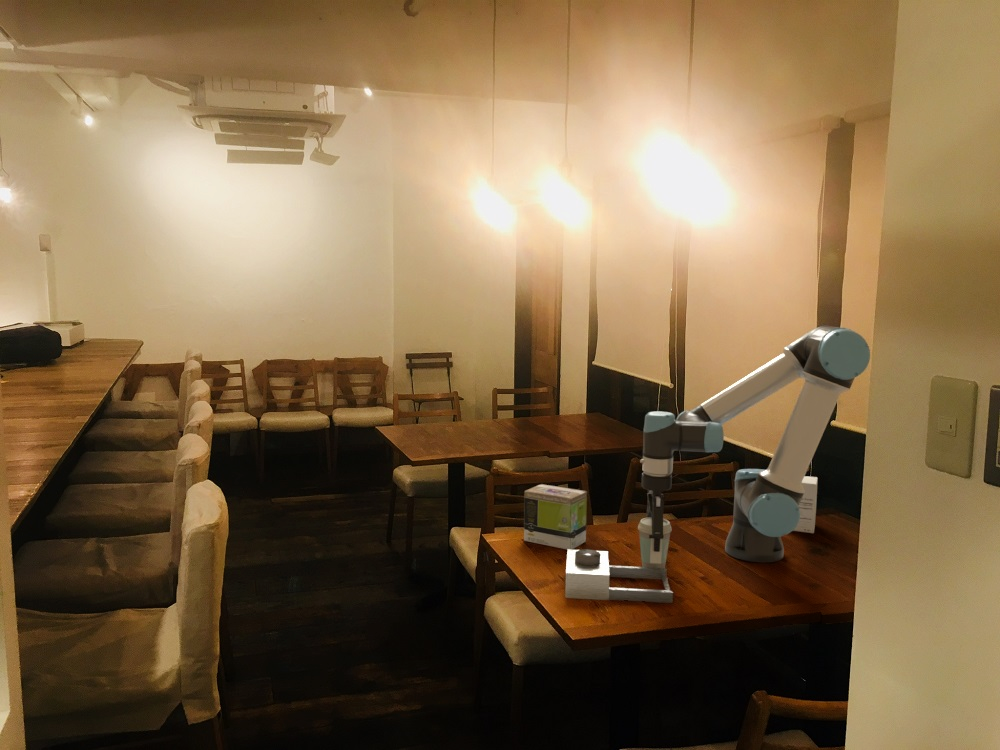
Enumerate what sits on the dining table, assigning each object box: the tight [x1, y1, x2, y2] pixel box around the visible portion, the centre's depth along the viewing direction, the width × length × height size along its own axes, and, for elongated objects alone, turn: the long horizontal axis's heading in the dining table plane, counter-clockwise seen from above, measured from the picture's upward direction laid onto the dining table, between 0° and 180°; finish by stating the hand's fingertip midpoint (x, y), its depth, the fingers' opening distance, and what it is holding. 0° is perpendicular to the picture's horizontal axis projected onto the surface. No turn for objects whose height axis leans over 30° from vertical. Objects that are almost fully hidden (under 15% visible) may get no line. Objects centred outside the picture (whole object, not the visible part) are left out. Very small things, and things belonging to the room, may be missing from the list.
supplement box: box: [792, 475, 818, 534], centre depth 240 cm, size 9×9×15 cm
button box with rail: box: [564, 548, 674, 604], centre depth 193 cm, size 24×16×8 cm, turn 84°
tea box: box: [523, 483, 588, 550], centre depth 225 cm, size 15×10×15 cm
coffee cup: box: [637, 517, 673, 568], centre depth 206 cm, size 8×8×12 cm
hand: (653, 553), depth 207 cm, fingers open, 13 cm apart
